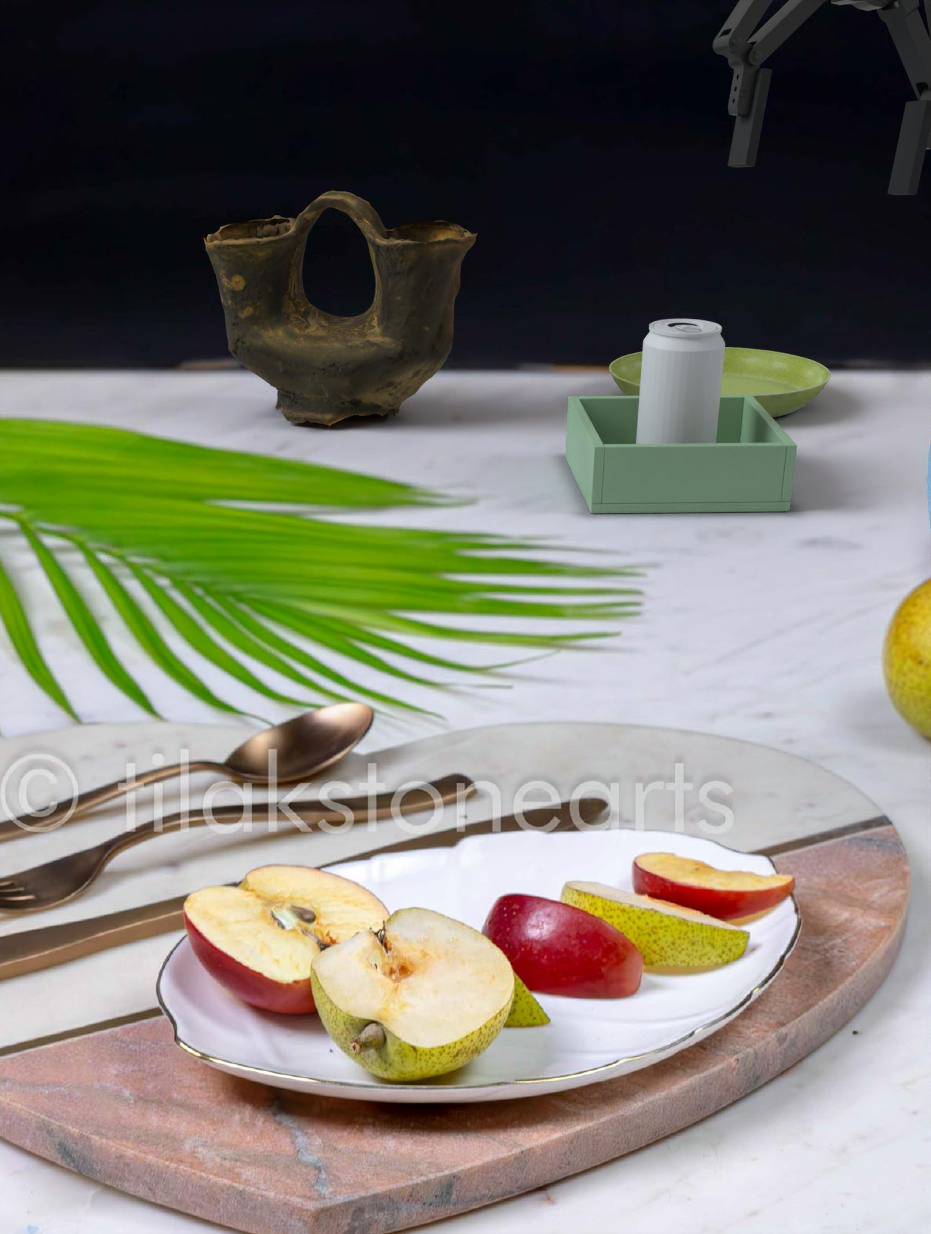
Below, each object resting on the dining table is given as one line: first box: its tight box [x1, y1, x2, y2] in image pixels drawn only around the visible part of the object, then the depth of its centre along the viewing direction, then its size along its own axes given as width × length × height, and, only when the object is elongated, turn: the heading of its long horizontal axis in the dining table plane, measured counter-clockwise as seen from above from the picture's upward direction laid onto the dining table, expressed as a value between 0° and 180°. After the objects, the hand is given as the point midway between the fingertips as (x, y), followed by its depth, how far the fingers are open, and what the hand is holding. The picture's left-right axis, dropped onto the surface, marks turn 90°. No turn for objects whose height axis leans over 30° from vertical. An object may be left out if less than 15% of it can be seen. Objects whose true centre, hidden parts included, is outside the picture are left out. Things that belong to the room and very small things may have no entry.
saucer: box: [608, 346, 832, 419], centre depth 162 cm, size 21×21×3 cm
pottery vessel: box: [203, 190, 478, 427], centre depth 154 cm, size 25×11×20 cm, turn 76°
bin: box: [564, 395, 798, 514], centre depth 138 cm, size 16×16×5 cm
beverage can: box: [636, 318, 726, 444], centre depth 136 cm, size 6×6×12 cm
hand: (822, 181), depth 125 cm, fingers open, 13 cm apart
